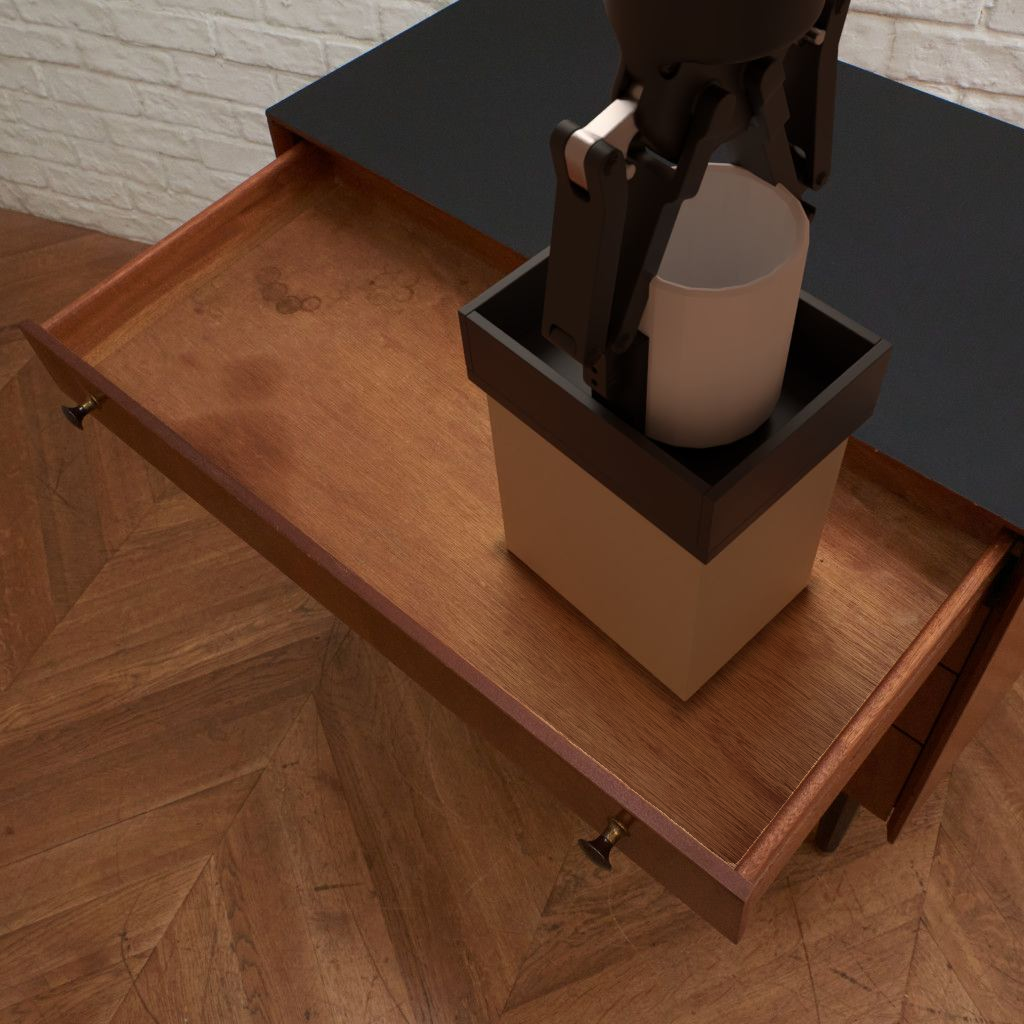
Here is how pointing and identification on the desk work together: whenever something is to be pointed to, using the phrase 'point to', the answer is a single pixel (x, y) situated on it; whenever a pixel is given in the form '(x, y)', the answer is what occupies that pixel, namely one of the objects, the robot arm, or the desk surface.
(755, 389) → the mug
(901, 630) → the desk surface
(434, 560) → the desk surface
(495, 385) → the basket
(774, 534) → the stand
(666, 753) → the desk surface
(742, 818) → the desk surface
